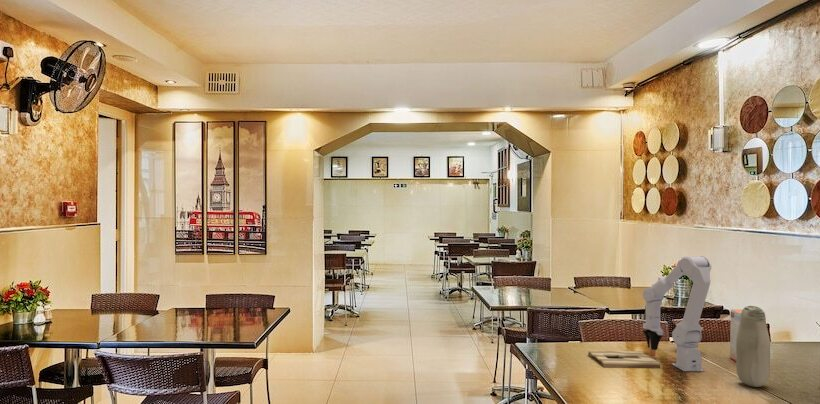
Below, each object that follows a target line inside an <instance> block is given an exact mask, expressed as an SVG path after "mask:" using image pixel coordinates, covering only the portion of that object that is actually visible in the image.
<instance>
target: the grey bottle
mask: <svg viewBox="0 0 820 404" xmlns="http://www.w3.org/2000/svg"><path fill="white" fill-rule="evenodd" d="M741 310H742V312H741V318H740V325H739V329H738V333H737V338H736V362H735V365H736V369H735V370H736V373H737V374H736V375H737V377H738V379H739V380H740V382H742V383H743V384H745V385H746V386H748V387H753V388H761V387H763V386H766V384H767V383H768V381H769V379H770V375H771V374H770V373H771V372H770V371H771V370H770V369H771V339H770V335H769V331H768V327H767V321H766V319H767V318H766V313H765V312H764V309H762V308H761V307H759V306H756V305H748V306H744V307H743V308H742V309H741Z"/></svg>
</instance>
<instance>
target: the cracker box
mask: <svg viewBox="0 0 820 404" xmlns="http://www.w3.org/2000/svg"><path fill="white" fill-rule="evenodd" d="M742 310H743V309H737V308H736V309H734V308H732V309H730V331H729V332H730V334H729V335H730V337H729V338H730V339H729V351H730V352H729V358H730V359H731V360H732V361H734V362H735V363H736V338H737V333H738V329H739V325H740V318H741V312H742Z"/></svg>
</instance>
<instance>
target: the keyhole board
mask: <svg viewBox="0 0 820 404" xmlns="http://www.w3.org/2000/svg"><path fill="white" fill-rule="evenodd" d="M587 351H588V352H587V356H588V357H590V358H595V359H597V360H598V361H599V362H601V366H602V367H603V368H618V369H619V368H622V369H623V368H624V369H626V368H627V369H633V368H634V369H661V363H660V362H659V361H658V360H656V359H655V358H651V357H649V356H647V354H645V353H643V352H642V351H640V350H639V351H638V350H637V351H636V350H635V351H634V350H632V351H631V350H630V351H629V350H587Z"/></svg>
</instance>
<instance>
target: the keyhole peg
mask: <svg viewBox="0 0 820 404" xmlns="http://www.w3.org/2000/svg"><path fill="white" fill-rule="evenodd" d="M656 352H657V350H652V349H651V343H650V348H649V353H648V354H647V353H646V355H647V356H649V357H651V358H652V359H659V357H660V356H659V354H656Z"/></svg>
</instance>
